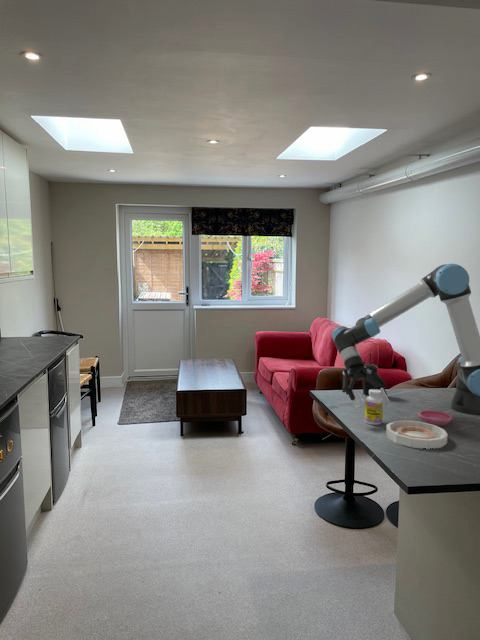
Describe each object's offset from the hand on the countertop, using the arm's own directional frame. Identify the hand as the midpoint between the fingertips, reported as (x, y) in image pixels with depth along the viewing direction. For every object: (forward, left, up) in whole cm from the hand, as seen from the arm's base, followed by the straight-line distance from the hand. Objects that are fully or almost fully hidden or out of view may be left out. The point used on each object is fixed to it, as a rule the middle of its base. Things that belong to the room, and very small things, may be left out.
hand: (373, 405), depth 181 cm
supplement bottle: (0, 0, -7) cm, 7 cm away
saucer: (-24, -8, -7) cm, 27 cm away
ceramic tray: (-14, +13, -7) cm, 20 cm away
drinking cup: (0, -42, -7) cm, 43 cm away
